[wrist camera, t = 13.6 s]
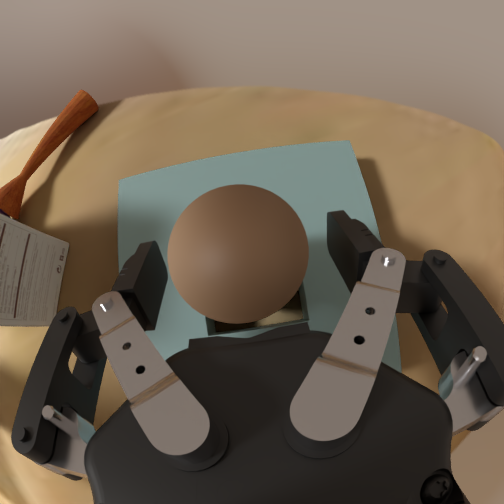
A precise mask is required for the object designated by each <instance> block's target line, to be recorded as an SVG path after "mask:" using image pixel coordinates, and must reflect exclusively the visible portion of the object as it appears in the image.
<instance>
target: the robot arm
mask: <svg viewBox="0 0 504 504" xmlns="http://www.w3.org/2000/svg"><path fill="white" fill-rule="evenodd" d="M327 247H328V251H329V254H330V256H331V258H332V260H333V262H334V263H335V265H336V267H337V269H338V271H339V273H340V275H341V276H342V278H343V280H344V282H345V284H346V286H347V288H348V290H349V292H350V294H351V296H350V298H349V301H348V303H347V305H346V307H345V309H344V311H343V314H342V316H341V318H340V320H339V322H338V324H337V326H336V328H335V330H334V332H333V334H331V333H327V332H323V331H314V330H310V329H309V325H308V322H304V323H299V324H293V325H288V326H282V327H277V328H275V329H272V330H269V331H267V332H264V333H261V334H258V335H256V336H253V337H250V338H237V337H223V336H213V337H204V338H194V339H189V345H188V348H186V349H184V350H181V351H179V352H177V353H175V354H173V355H172V356H170V357H169V358H168V359H166V360H164V359H163V357H162V356H161V355H160V353H159V352H158V350H157V349H156V348H155V346H154V345H153V343H152V342H151V340H150V339H149V338H148V336H147V335H146V333H145V331H152V330H155V328H156V324H157V319H158V315H159V311H160V307H161V303H162V299H163V296H164V292H165V288H166V284H167V281H168V272H167V268H166V265H165V262H164V260H163V257H162V254H161V251H160V249H159V246H158V244H157V242H156V241H149V242H144V243H140V244H139V246H138V248H137V250H136V252H135V254H134V255H132V256H131V257H130V258H129V259H128V260H127V261H126V262H125V264H124V265H123V267H122V270H121V271H120V273H119V276H118V277H117V279H116V282H115V284H114V286H113V288H112V290H111V292H107V293H105V294H103V295H101V296H100V297H98V298H97V299H96V300H95V302H94V303H93V305H92V310H91V311H88V312H86V313H83V314H80V315H79V313H78V312H77V310H76V309H75V308H74V307H67V308H64V309H62V310H61V311H59V312H58V313H57V314H56V315H55V317H54V318H53V320H52V322H51V324H50V327H49V329H48V331H47V333H46V335H45V337H44V340H43V342H42V344H41V346H40V349H39V351H38V354H37V356H36V358H35V361H34V363H33V366H32V369H31V371H30V374H29V377H28V379H27V382H26V385H25V388H24V391H23V394H22V397H21V400H20V404H19V407H18V411H17V414H16V418H15V422H14V425H13V430H12V435H11V439H12V444H13V447H14V448H15V450H16V451H17V452H19V453H20V454H22V455H24V456H25V457H27V458H29V459H31V460H32V461H34V462H35V463H36V464H38V465H40V466H42V467H44V468H46V469H48V470H50V471H52V472H54V473H56V474H59V475H62V476H65V477H67V478H69V479H72V480H81V479H82V478H87V479H88V480H89V483H90V486H91V490H92V494H93V500H94V504H470V502H469V501H468V499H467V498H466V496H465V495H464V493H463V492H462V491H461V489H460V488H459V486H458V484H457V483H456V481H455V479H454V477H453V475H452V471H451V461H450V451H451V440H452V436H454V435H456V434H458V433H460V432H462V431H464V430H466V429H467V430H470V431H475V430H478V429H479V428H481V427H482V426H484V425H485V424H486V423H487V422H488V421H490V420H491V419H492V418H493V417H495V416H496V415H497V414H498V413H499V412H500V411H502V410H503V409H504V324H503V322H502V321H501V319H500V318H499V316H498V315H497V314H496V312H495V311H494V309H493V308H492V307H491V305H490V304H489V302H488V301H487V300H486V298H485V297H484V296H483V294H482V293H481V292H480V291H479V289H478V288H477V287H476V285H475V284H474V283H473V282H472V281H471V279H470V278H469V277H468V276H467V274H466V273H465V272H464V271H463V270H462V269H461V267H460V266H459V265H458V264H457V263H456V262H455V260H454V259H453V258H452V257H451V256H450V255H449V254H447V253H445V252H443V251H440V250H429V251H427V252H426V253H425V254H424V257H423V261H407V260H406V259H405V257H404V255H403V254H402V253H400V252H399V251H397V250H395V249H391V248H385V247H384V246H383V245H382V243H381V242H380V241H379V240H378V239H377V238H376V236H375V235H373V233H372V232H371V231H370V230H369V228H368V227H367V226H366V225H365V224H364V223H363V222H361V221H359V220H357V219H351V218H350V217H349V216H348V214H347V213H346V212H345V211H344V210H338V211H331V212H328V213H327ZM442 301H443V302H444V304H445V305H446V307H447V310H448V314H447V312H446V311H445V309H444V308H443V306H442V305H441V302H442ZM395 313H411V315H412V317H413V319H414V321H415V323H416V325H417V326H418V328H419V330H420V332H421V334H422V336H423V338H424V340H425V342H426V344H427V346H428V348H429V350H430V352H431V354H432V356H433V358H434V360H435V363H436V365H437V367H438V369H439V371H440V374H441V377H440V379H439V383H438V389H439V393H440V395H438V394H437V393H435V392H434V391H432V390H430V389H428V388H427V387H425V386H423V385H421V384H420V383H418V382H416V381H414V380H412V379H411V378H409V377H407V376H406V375H404V374H402V373H400V372H399V371H397V370H395V369H393V368H392V367H390V366H388V365H387V364H385V363H383V362H381V360H382V357H383V354H384V351H385V348H386V344H387V341H388V338H389V334H390V331H391V327H392V323H393V320H394V316H395ZM72 352H73V353H74V354H75V355H76V357H77V361H76V364H75V367H74V370H73V374H72V373H71V372H70V370H69V366H68V362H69V358H70V355H71V353H72ZM107 357H108V360H109V362H110V364H111V366H112V368H113V370H114V372H115V375H116V377H117V379H118V381H119V383H120V385H121V387H122V389H123V391H124V392H125V394H126V396H127V398H128V399H127V400H126V401H125V402H124V403H123V404H122V405H121V407H120V408H119V409H118V410H117V411H116V412H115V413H114V414H113V415H112V416H111V417H110V418H109V419H108V420H107V421H106V422H105V423H104V424H103V425H102V426H101V427H100V428H99V429H98V430H97V431H95V429H94V427H93V422H94V416H95V411H96V405H97V400H98V395H99V390H100V386H101V381H102V377H103V372H104V368H105V364H106V360H107Z"/></svg>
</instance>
